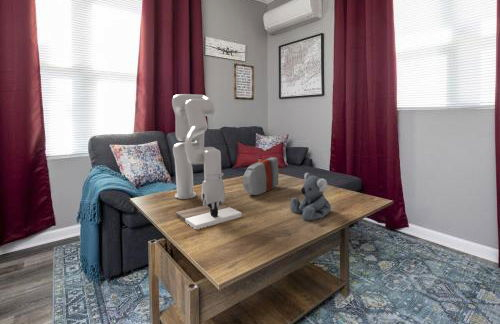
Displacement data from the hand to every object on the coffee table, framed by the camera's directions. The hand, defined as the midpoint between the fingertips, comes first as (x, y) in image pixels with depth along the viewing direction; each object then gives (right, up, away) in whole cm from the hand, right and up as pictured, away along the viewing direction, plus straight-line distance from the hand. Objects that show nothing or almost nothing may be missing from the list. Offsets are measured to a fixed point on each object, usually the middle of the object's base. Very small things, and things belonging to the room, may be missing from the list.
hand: (214, 216), depth 131 cm
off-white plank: (0, -2, +2) cm, 2 cm away
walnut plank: (-7, 0, +10) cm, 12 cm away
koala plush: (+46, 0, +8) cm, 47 cm away
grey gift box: (+23, +6, +45) cm, 51 cm away
